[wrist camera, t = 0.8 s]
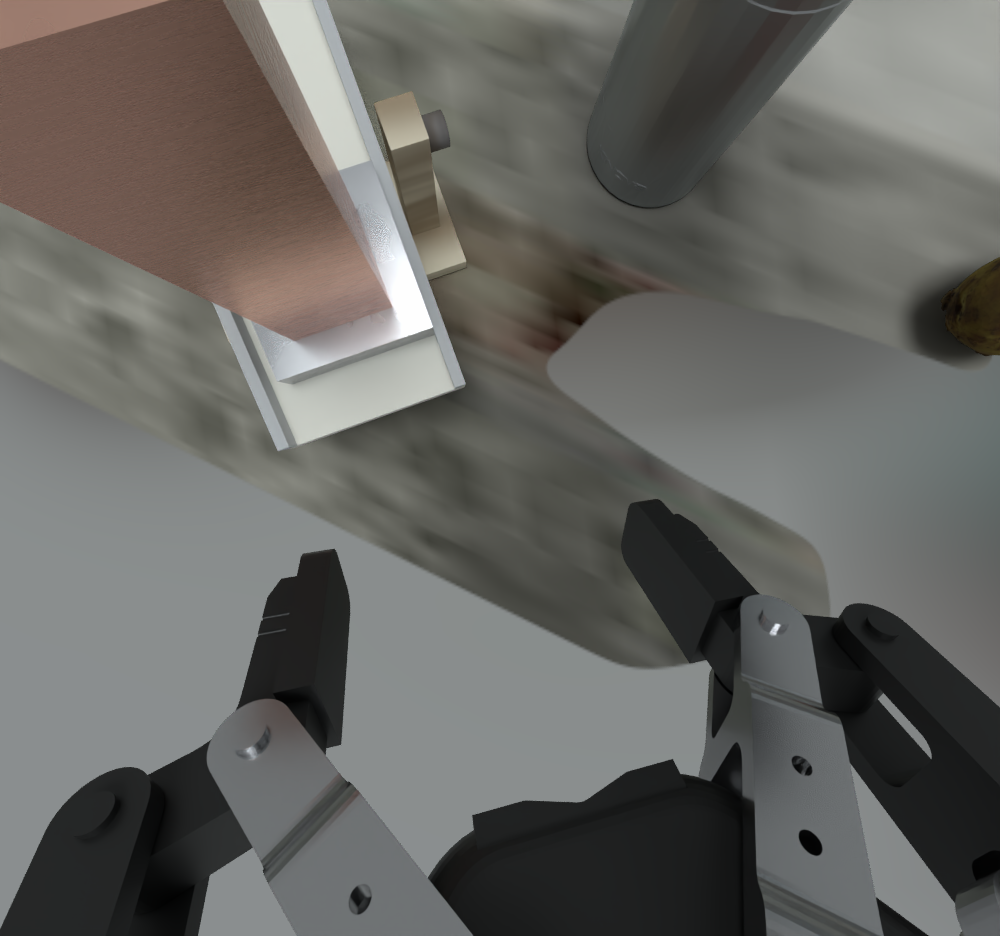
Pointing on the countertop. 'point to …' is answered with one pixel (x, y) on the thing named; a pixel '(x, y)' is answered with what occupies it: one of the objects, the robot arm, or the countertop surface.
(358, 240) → the block
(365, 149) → the beam
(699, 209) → the countertop surface
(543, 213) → the countertop surface
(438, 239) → the pivot stand
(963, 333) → the potato
